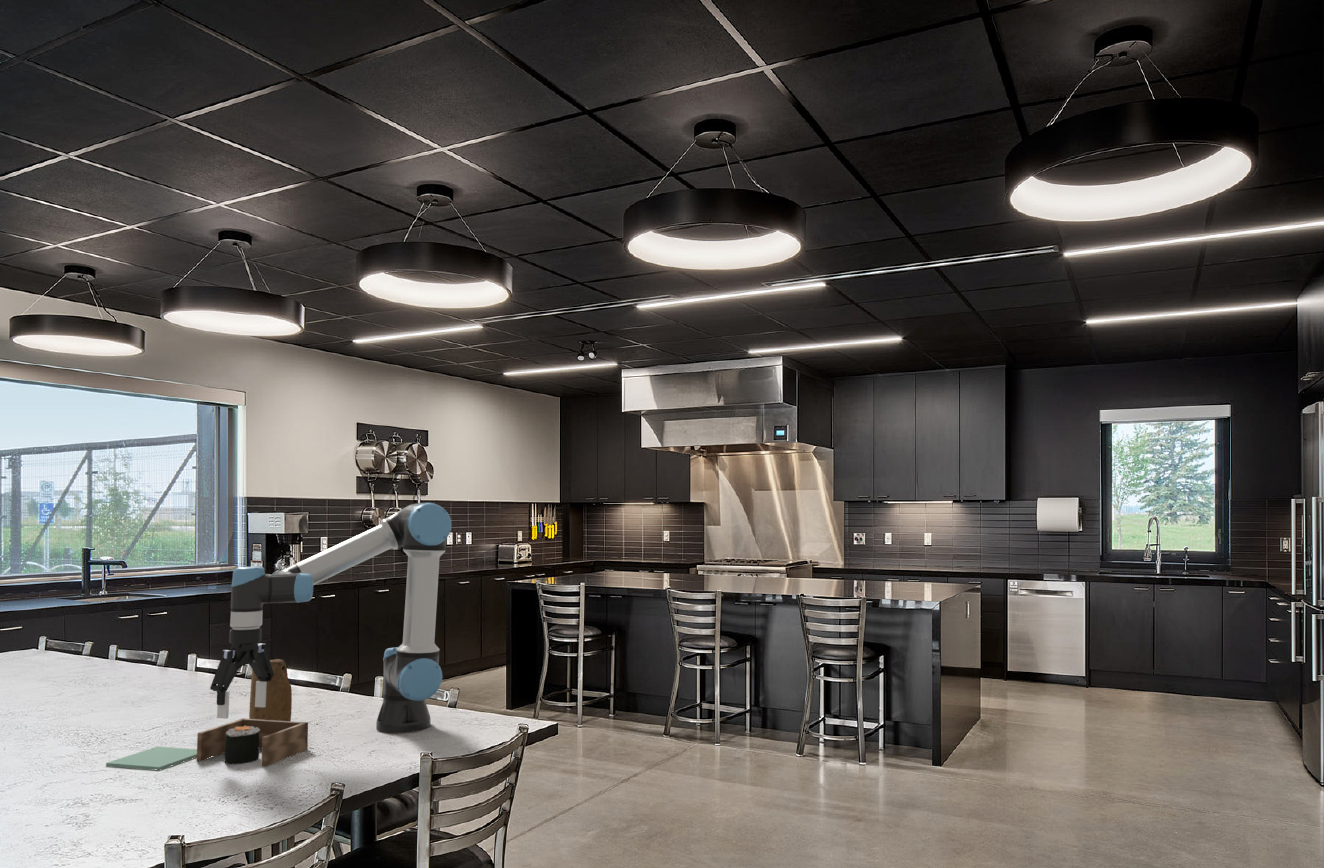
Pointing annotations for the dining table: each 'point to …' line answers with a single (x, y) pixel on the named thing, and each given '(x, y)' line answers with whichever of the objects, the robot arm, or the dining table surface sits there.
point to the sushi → (242, 745)
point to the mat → (155, 758)
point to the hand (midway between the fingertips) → (241, 712)
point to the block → (273, 695)
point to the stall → (273, 739)
